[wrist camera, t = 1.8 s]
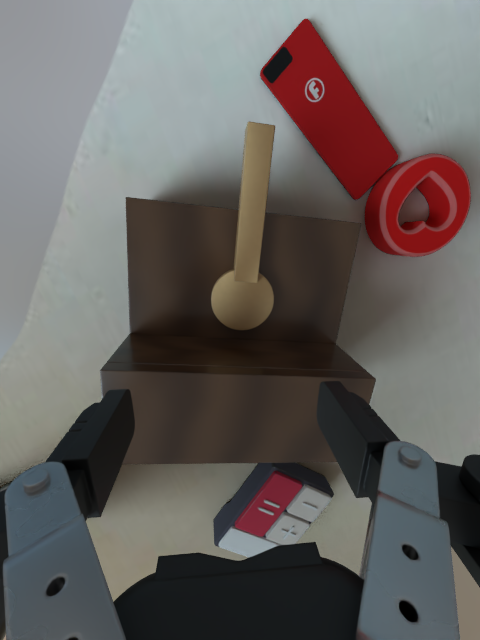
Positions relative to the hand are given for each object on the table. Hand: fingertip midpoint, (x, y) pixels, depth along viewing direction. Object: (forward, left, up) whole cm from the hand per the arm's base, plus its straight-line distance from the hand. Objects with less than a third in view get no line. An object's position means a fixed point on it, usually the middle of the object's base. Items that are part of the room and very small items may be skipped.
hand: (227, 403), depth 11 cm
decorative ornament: (+20, +11, -20) cm, 31 cm away
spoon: (+2, +6, -14) cm, 15 cm away
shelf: (+2, -1, -20) cm, 20 cm away
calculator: (+10, -31, -20) cm, 38 cm away
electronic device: (+10, +18, -20) cm, 29 cm away
